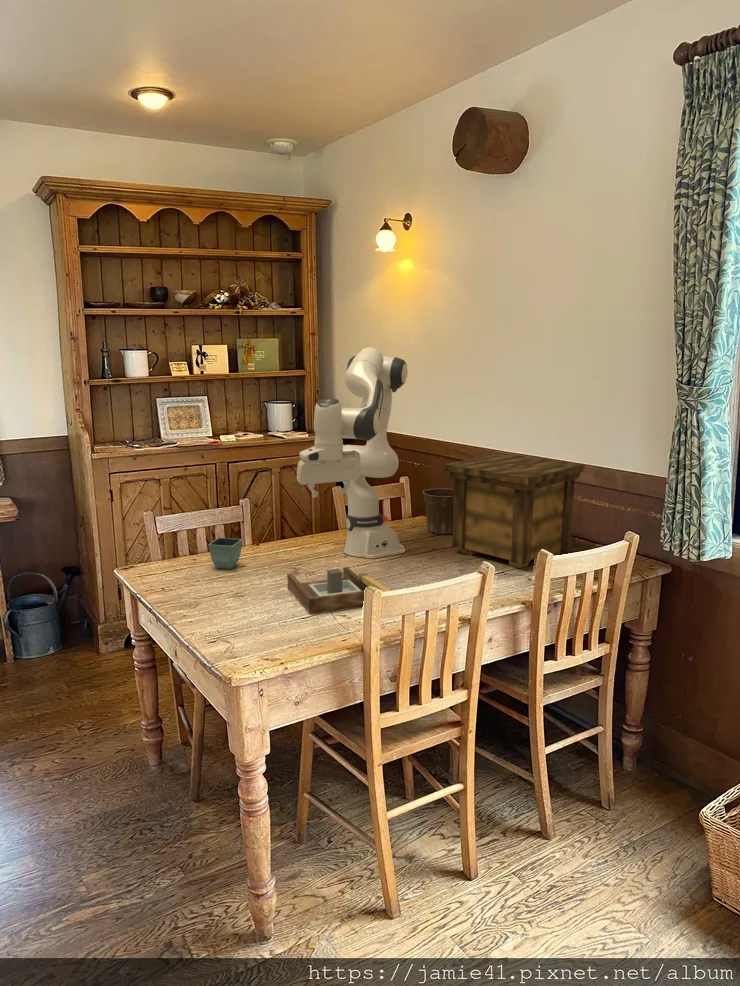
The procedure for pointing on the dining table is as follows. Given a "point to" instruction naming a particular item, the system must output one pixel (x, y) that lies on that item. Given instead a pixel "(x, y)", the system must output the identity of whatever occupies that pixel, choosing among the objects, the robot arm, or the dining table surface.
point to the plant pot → (439, 510)
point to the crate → (513, 506)
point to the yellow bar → (371, 582)
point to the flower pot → (225, 552)
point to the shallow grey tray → (333, 585)
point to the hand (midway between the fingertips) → (329, 495)
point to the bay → (328, 601)
